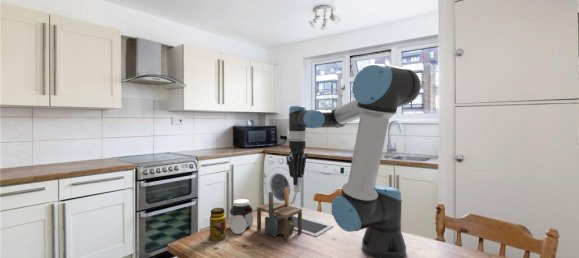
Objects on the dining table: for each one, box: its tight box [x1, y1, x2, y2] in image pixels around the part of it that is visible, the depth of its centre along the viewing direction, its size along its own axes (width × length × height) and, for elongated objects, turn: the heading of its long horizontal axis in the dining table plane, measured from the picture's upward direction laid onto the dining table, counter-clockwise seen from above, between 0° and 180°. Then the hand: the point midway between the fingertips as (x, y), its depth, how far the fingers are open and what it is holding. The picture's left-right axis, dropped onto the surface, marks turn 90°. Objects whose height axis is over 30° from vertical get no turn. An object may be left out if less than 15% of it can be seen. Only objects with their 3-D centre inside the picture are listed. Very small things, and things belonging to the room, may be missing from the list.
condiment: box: [201, 207, 230, 244], centre depth 108 cm, size 7×8×12 cm
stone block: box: [277, 219, 295, 236], centre depth 115 cm, size 6×12×5 cm, turn 61°
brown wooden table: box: [256, 201, 303, 242], centre depth 115 cm, size 16×10×10 cm, turn 51°
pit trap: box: [293, 214, 334, 238], centre depth 123 cm, size 26×14×1 cm, turn 51°
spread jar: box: [228, 198, 254, 235], centre depth 118 cm, size 12×11×12 cm
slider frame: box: [264, 186, 293, 237], centre depth 115 cm, size 6×11×17 cm, turn 141°
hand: (296, 191), depth 124 cm, fingers closed
